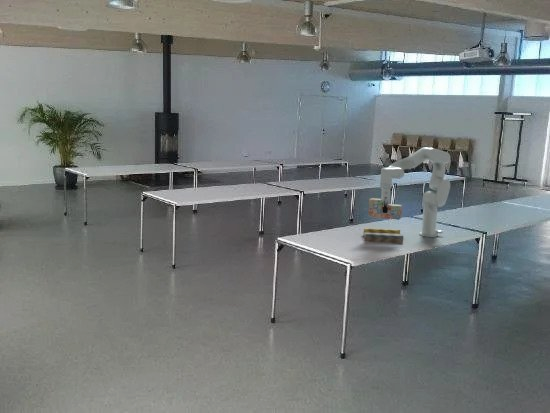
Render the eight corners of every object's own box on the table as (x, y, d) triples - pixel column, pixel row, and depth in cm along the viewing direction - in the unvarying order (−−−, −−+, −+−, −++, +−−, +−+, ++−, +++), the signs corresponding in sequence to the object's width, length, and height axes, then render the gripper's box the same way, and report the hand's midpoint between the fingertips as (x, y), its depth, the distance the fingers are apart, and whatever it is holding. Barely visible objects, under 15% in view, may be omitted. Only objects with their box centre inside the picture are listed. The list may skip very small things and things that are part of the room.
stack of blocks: (401, 218, 366) (402, 200, 364) (399, 220, 360) (400, 201, 358) (370, 215, 375) (371, 197, 372) (368, 216, 369) (369, 199, 367)
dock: (399, 236, 378) (399, 229, 377) (402, 243, 360) (403, 236, 359) (363, 235, 381) (363, 228, 380) (365, 241, 362) (365, 234, 361)
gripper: (392, 188, 355) (391, 214, 358) (390, 184, 372) (388, 209, 375) (381, 187, 356) (379, 214, 359) (379, 184, 373) (377, 209, 376)
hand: (384, 211), depth 367 cm, fingers closed on stack of blocks, 7 cm apart
